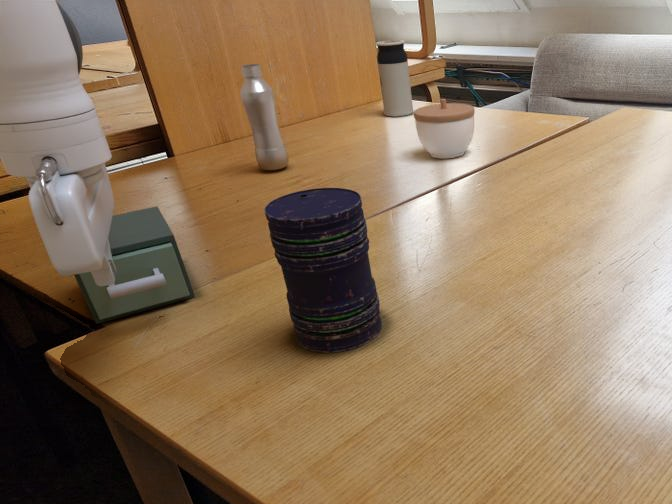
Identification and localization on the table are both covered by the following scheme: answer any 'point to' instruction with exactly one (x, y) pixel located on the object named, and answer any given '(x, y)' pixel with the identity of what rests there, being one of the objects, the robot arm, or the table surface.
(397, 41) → the travel mug
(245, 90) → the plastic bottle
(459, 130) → the lidded bowl
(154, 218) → the cabinet
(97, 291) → the drawer
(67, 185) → the robot arm
